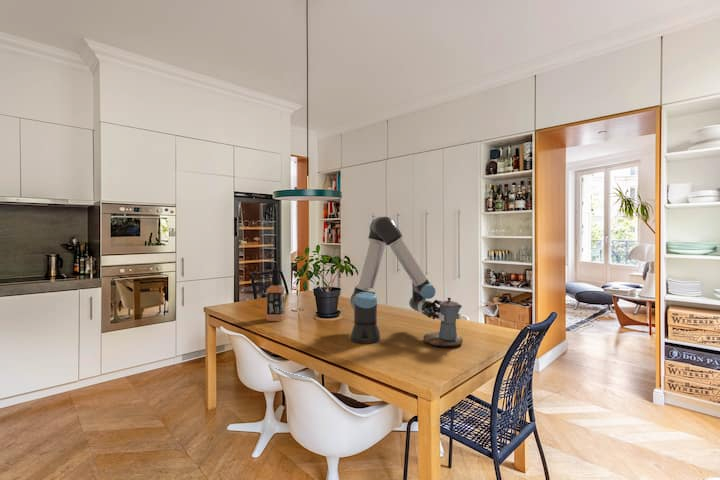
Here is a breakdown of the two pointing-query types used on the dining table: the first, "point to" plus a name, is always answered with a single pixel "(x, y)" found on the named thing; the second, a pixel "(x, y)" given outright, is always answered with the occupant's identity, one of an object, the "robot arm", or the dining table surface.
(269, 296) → the whiskey bottle
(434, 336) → the disc
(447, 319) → the moka pot
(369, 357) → the dining table surface
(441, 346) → the turntable base
